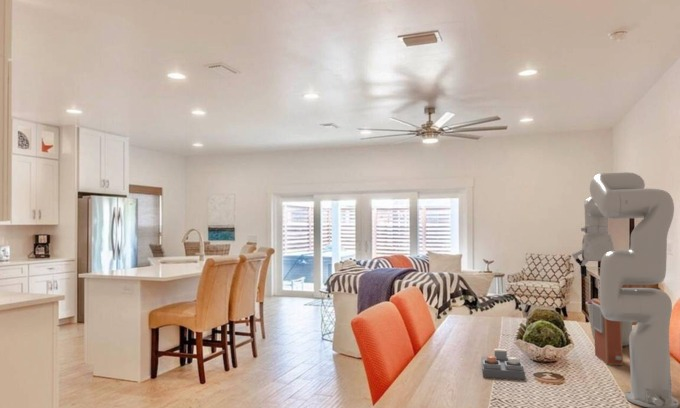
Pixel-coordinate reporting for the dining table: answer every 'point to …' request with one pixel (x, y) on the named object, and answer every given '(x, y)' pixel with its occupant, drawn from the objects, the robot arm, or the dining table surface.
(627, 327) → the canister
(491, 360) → the terracotta button
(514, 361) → the white button
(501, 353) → the paddle
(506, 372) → the switch board
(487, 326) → the dining table surface
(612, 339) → the control panel
